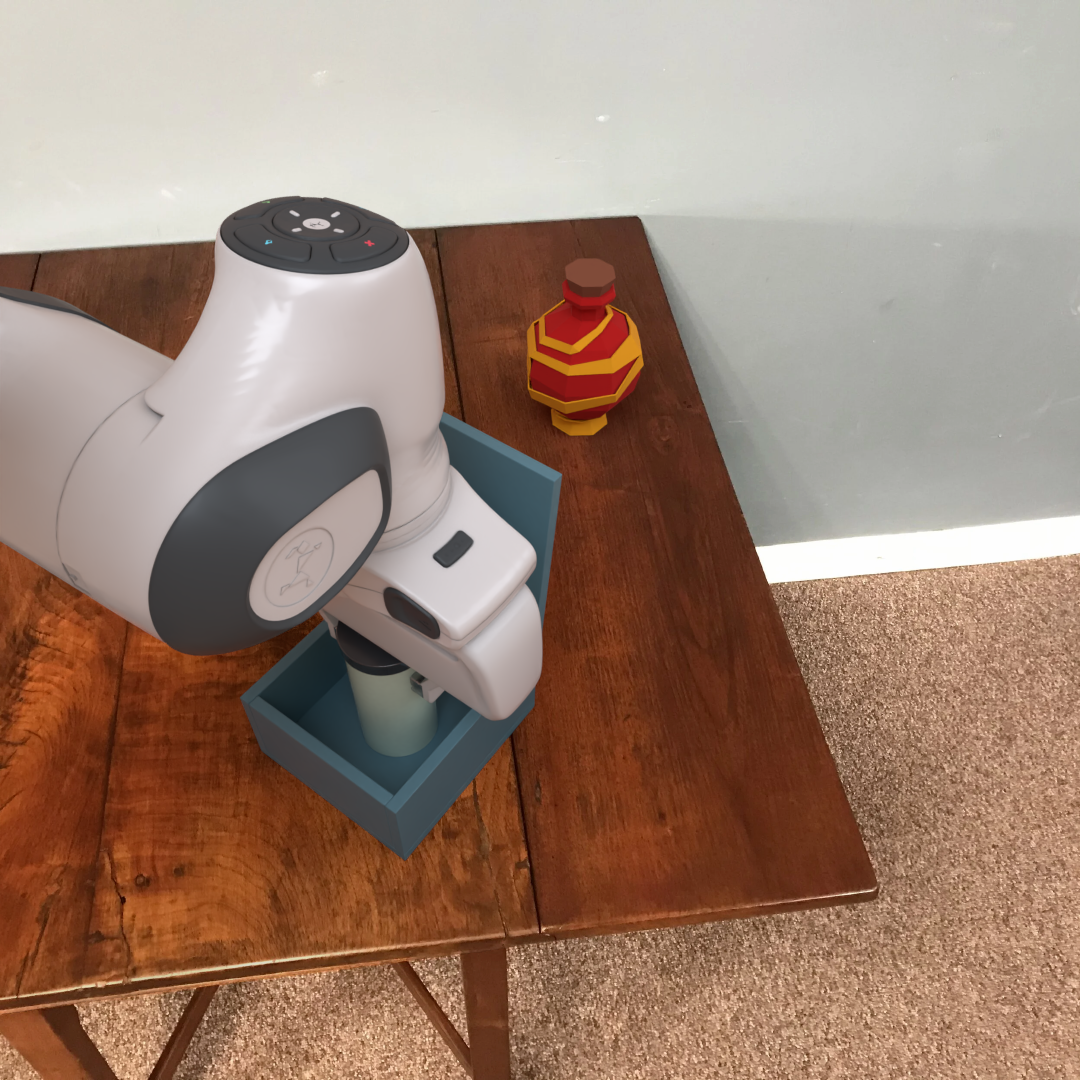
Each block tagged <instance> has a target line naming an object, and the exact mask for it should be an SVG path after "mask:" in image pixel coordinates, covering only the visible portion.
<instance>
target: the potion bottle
mask: <svg viewBox="0 0 1080 1080" xmlns="http://www.w3.org/2000/svg"><path fill="white" fill-rule="evenodd" d="M564 271H565V278H566V279H565V280H564V281H563V282H562V283H561V287H562V295H563V300H561V301H560V302H559V303H557V304H555V306H553V307H551V308H550V309H549V310H548V311H546V312H545V313H543V314H542V315H541V316H540V317H539V318H538V319H536V320H534V321H533V322H532V323H531V324H530V326H529V327H528V329H527V331H526V341H527V343H526V344H527V352H526V353H527V354H526V369H527V371H526V372H527V390H528V393H529V396H530V398H531V399H532V400H535V401H537V402H539V403H541V404H543V405H544V406H548V407H549V408H550V413H551V423H552V424H551V425H552V426H553V427H555V428H557V429H558V430H560V431H561V432H563V433H565V434H566V435H568V436H569V437H570V436H571V437H573V436H574V437H575V436H594V435H595V434H596V433H598V432H599V431H600V430H602V429H603V428H604V427H606V425H608V418H607V413H608V412H609V411H611V410H613V408H614V407H616V406H617V405H618V404H620V403H621V402H622V401H623V400H624V399H626V398H627V397H628V396H629V395H630V394H631V393H633V392H634V391H635V389H636V387H637V384H638V381H639V379H640V376H641V373H642V372H641V370H642V368H643V367H644V365H645V363H644V358H643V351H642V345H641V339H640V336H639V331H638V326H637V325H636V323H635V322H634V321H633V320H632V318H631V317H630V316H629V314H628V313H627V312H625V311H623V310H620V309H619V308H617V307H615V306H613V305H611V303H612V302H613V301H615V299H616V297H617V294H616V290H615V284H614V282H615V281H616V278H617V277H616V271H615V267H614V265H612V264H610V263H608V262H607V261H604V260H602V259H600V258H597V257H596V258H593V257H591V258H576V259H575V260H573V261H572V262H570V263H568V264H567V265H565V266H564Z"/></svg>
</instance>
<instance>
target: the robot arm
mask: <svg viewBox="0 0 1080 1080" xmlns="http://www.w3.org/2000/svg"><path fill="white" fill-rule="evenodd" d="M214 242H215V244H214V277H213V281H212V286H211V289H210V292H209V296H208V298H207V300H206V303H205V305H204V307H203V310H202V312H201V315H200V317H199V320H198V322H197V323H196V325H195V328H194V329H193V331H192V333H191V334H190V336H189V338H188V340H187V342H186V343H185V345H184V346H183V348H182V349H181V351H180V353H179V354H178V356H177V357H176V358H175V359H173V358H171V357H169V356H167V355H165V354H163V353H161V352H158V351H157V350H155V349H152V348H150V347H149V346H147V345H144V344H142V343H140V342H138V341H136V340H134V339H132V338H130V337H128V336H125V335H124V334H122V333H120V332H119V331H118V330H116V329H115V328H113V327H111V326H109V325H108V324H106V323H105V322H103V321H101V320H100V319H98V318H96V317H94V316H93V315H91V314H89V313H88V312H86V311H84V310H83V309H80V308H78V307H77V306H76V305H73V304H71V303H69V302H67V301H65V300H63V299H60V298H57V297H55V296H52V295H48V294H45V293H40V292H36V291H31V290H27V289H22V288H17V287H16V288H15V287H8V286H2V285H0V542H1V543H2V544H3V545H5V546H7V547H9V548H10V549H11V550H13V551H15V552H17V553H18V554H20V555H21V556H23V557H25V558H26V559H28V560H29V561H30V562H32V563H34V564H36V565H38V566H39V567H41V568H42V569H44V570H46V571H47V572H49V573H50V574H52V575H54V576H55V577H57V578H58V579H60V580H62V581H63V582H64V583H66V584H68V585H70V586H71V587H72V588H74V589H76V590H77V591H78V592H80V593H82V594H84V595H85V596H87V597H89V598H90V599H92V600H93V601H95V602H96V603H98V604H99V605H101V606H103V607H104V608H106V609H107V610H109V611H111V612H113V613H114V614H116V615H117V616H119V617H120V618H122V619H124V620H126V622H129V623H131V624H132V625H133V626H135V627H137V628H138V629H139V630H142V631H143V632H145V633H147V634H148V635H150V636H152V637H154V638H155V639H157V640H159V641H160V642H162V643H163V644H165V645H167V646H168V647H169V648H171V649H173V650H174V651H176V652H179V653H181V654H185V655H187V656H193V657H207V656H209V657H210V656H218V655H224V654H229V653H234V652H239V651H242V650H246V649H249V648H252V647H254V646H256V645H259V644H262V643H265V642H267V641H270V640H271V639H274V638H276V637H278V636H279V635H282V634H284V633H286V632H288V631H289V630H291V629H293V628H295V627H297V626H298V625H301V624H302V623H305V622H306V621H307V620H309V619H310V618H312V617H313V616H314V615H316V614H317V613H319V615H320V616H321V617H322V618H323V620H325V621H326V622H327V623H328V627H329V630H330V634H331V636H332V637H333V638H335V639H336V640H337V637H336V628H337V623H338V620H340V621H341V622H343V623H344V624H346V625H347V626H349V627H350V628H352V629H353V630H355V631H356V632H358V633H359V634H361V635H362V636H364V637H365V638H367V639H368V640H370V641H371V642H373V643H374V644H376V645H377V646H379V647H380V648H382V649H383V650H385V651H386V652H388V653H389V654H391V655H392V656H394V657H395V658H397V659H398V660H400V661H401V662H403V663H404V664H406V665H407V666H409V667H410V668H412V669H414V670H415V671H416V672H414V673H413V674H412V675H411V677H410V684H411V685H412V687H411V690H412V691H414V692H415V693H417V694H418V695H419V696H421V697H422V698H424V699H425V700H426V701H428V702H429V703H433V702H434V701H435V700H436V699H437V698H438V697H439V696H440V695H441V694H442V693H443V691H444V690H445V691H447V692H448V693H450V694H451V695H453V696H454V697H456V698H457V699H459V700H460V701H462V702H463V703H465V704H466V705H468V706H469V707H471V708H472V709H474V710H475V711H477V712H478V713H479V714H481V715H482V716H484V717H485V718H487V719H489V720H492V721H497V720H503V719H506V718H507V717H509V716H510V715H511V714H512V713H513V712H514V711H515V710H516V709H517V708H518V707H519V706H520V704H521V703H522V702H523V701H524V700H525V699H526V697H527V696H528V695H529V694H530V692H531V691H532V690H533V688H534V687H535V688H536V685H537V684H538V682H539V680H540V677H541V675H542V670H543V629H542V628H541V618H540V612H539V608H538V605H537V602H536V600H535V598H534V596H533V594H532V592H531V591H530V589H529V588H528V586H527V585H526V584H525V583H526V581H527V580H528V578H529V577H530V575H531V574H532V573H533V571H534V570H535V567H536V561H537V558H536V552H535V550H534V548H533V546H532V545H531V544H530V543H529V542H528V540H526V539H525V538H524V537H523V536H522V535H521V534H520V533H519V532H517V531H516V530H515V529H514V528H513V527H511V526H510V525H509V524H508V523H507V522H506V521H505V520H503V519H502V518H501V517H500V516H499V515H498V514H497V513H496V512H495V511H493V510H492V509H491V508H490V507H489V506H488V505H487V504H486V503H485V502H484V501H483V500H482V499H481V498H480V497H479V496H478V494H477V493H476V492H475V491H474V490H473V489H472V488H471V486H470V485H469V484H468V483H467V482H466V480H465V479H464V478H463V477H462V475H461V474H460V473H459V472H458V471H457V470H456V469H455V468H454V467H453V466H451V465H450V461H449V454H448V449H447V445H446V442H445V440H444V437H443V435H442V433H441V431H440V429H439V423H440V420H441V417H442V414H443V412H444V408H445V403H446V386H445V384H446V383H445V368H444V358H443V346H442V345H443V344H442V336H441V328H440V322H439V317H438V310H437V305H436V300H435V295H434V291H433V287H432V282H431V279H430V274H429V272H428V269H427V266H426V263H425V260H424V258H423V256H422V254H421V251H420V249H419V248H418V245H417V243H416V242H415V240H414V239H413V237H412V236H411V234H410V233H409V232H408V231H407V230H406V228H404V227H402V226H400V225H399V224H397V223H396V222H395V221H394V220H392V219H390V218H388V217H386V216H383V215H382V214H380V213H376V212H374V211H372V210H369V209H367V208H365V207H361V206H358V205H356V204H353V203H349V202H346V201H342V200H340V199H335V198H330V197H326V196H324V197H319V196H318V197H315V196H300V195H289V196H288V195H287V196H279V197H273V198H267V199H264V200H260V201H256V202H254V203H252V204H249V205H247V206H244V207H242V208H239V209H238V210H236V211H234V212H231V214H229V215H228V216H226V218H224V219H223V220H222V222H221V223H220V224H219V226H218V229H217V230H216V235H215V241H214Z"/></svg>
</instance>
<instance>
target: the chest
mask: <svg viewBox="0 0 1080 1080" xmlns="http://www.w3.org/2000/svg"><path fill="white" fill-rule="evenodd" d="M239 699H240V703H241V704H242V707H243V709H244V711H245V714H246V716H247V719H248V722H249V724H250V726H251V729H252V730H253V734H254V736H255V739H256V741H257V743H258V746H259V748H260V751H261V752H262V753H263V754H265V755H266V756H267V757H268V758H270V759H271V760H273V761H274V762H275V763H277V765H279V766H281V767H282V769H284V770H285V771H287V772H288V773H290V774H291V775H292V776H294V777H295V778H296V779H297V780H298V781H300V782H301V783H303V784H304V785H305V786H307V787H308V788H309V789H311V790H312V791H313V792H314V793H316V794H317V795H318V796H320V797H321V798H322V799H324V800H325V801H326V802H327V803H329V804H330V805H331V806H333V807H334V808H335V809H337V811H339V812H341V813H342V814H343V815H345V816H346V817H347V818H349V820H351V821H353V823H355V824H356V825H358V826H359V827H360V828H362V829H363V830H364V831H365V832H366V833H368V834H369V835H371V836H372V837H373V838H375V839H376V840H377V841H378V842H379V843H381V844H382V845H383V846H385V847H386V848H387V849H389V850H390V851H392V852H393V854H395V855H397V856H399V858H400V859H402V860H403V861H407V860H408V859H409V857H410V856H411V855H412V854H413V853H414V851H415V850H416V849H417V848H418V846H419V845H420V844H421V843H422V842H423V840H424V839H425V838H426V837H427V836H428V834H429V833H430V832H431V831H432V830H433V829H434V827H435V826H436V825H437V824H438V822H439V821H440V820H441V819H442V817H443V816H444V815H445V814H446V813H447V812H448V810H449V809H450V808H451V807H452V806H453V804H454V803H455V802H456V801H457V800H458V798H459V797H460V796H461V795H462V794H463V792H464V791H465V790H466V789H467V788H468V786H469V785H470V784H471V783H472V782H473V781H474V779H475V778H476V777H477V776H478V775H479V773H480V772H481V771H482V770H483V769H484V767H485V766H486V765H487V764H488V762H489V761H490V760H491V759H492V758H493V757H494V755H495V754H496V753H497V752H498V751H499V750H500V748H501V747H502V746H503V745H504V744H505V742H506V741H507V740H508V739H509V738H510V736H511V735H512V734H513V733H514V731H515V730H516V729H517V728H518V726H519V725H520V724H521V723H522V722H523V721H524V719H525V718H526V717H527V716H528V715H529V714H530V712H531V711H532V710H533V709H534V707H535V705H536V704H535V703H536V701H535V700H536V686H535V687H534V688H533V690H532V691H531V692H530V694H529V695H528V696H527V697H526V699H525V700H524V701H523V702H522V703H521V704H520V706H519V707H518V708H517V709H516V710H515V711H514V712H513V713H512V714H511V715H510V716H509V717H507V718H506V719H503V720H497V721H492V720H489V719H487V718H485V717H484V716H482V715H481V714H479V713H478V712H477V711H475V710H474V709H472V708H471V707H469V706H468V705H466V704H465V703H463V702H462V701H460V700H459V699H457V698H456V697H454V696H453V695H451V694H450V693H448V692H447V691H445V690H444V691H443V693H442V694H441V695H440V696H439V697H438V698H437V707H438V716H439V723H438V728H437V731H436V733H435V736H434V737H433V739H432V740H431V741H430V742H429V744H427V745H426V746H425V747H424V748H423V749H421V750H420V751H418V752H416V753H414V754H411V755H407V756H402V757H391V756H386V755H383V754H380V753H378V752H376V751H375V750H373V749H372V748H371V747H370V746H369V745H368V744H367V743H366V741H365V740H364V738H363V735H362V731H361V727H360V723H359V719H358V715H357V710H356V706H355V702H354V698H353V693H352V689H351V685H350V681H349V676H348V672H347V668H346V664H345V659H344V658H343V656H342V655H341V652H340V650H339V645H338V641H337V640H336V639H335V638H333V637H332V636H331V634H330V630H329V627H328V623H327V622H326V621H325V620H324V619H323V620H322V621H320V623H318V624H317V626H315V627H314V628H313V629H312V630H311V631H310V632H309V633H308V634H307V635H305V636H304V637H303V638H302V639H301V640H300V641H299V642H298V643H297V644H296V645H294V647H292V649H291V650H289V651H288V652H287V653H286V654H285V655H284V656H283V657H282V658H280V659H279V661H277V662H276V663H275V664H274V665H273V666H272V667H271V668H270V669H269V670H268V671H267V672H265V673H264V674H263V675H262V676H261V677H260V678H259V679H258V680H257V681H256V682H254V683H253V684H252V685H251V686H250V687H249V688H248V689H247V690H246V691H245V692H244V693H243V694H241V695H240V697H239Z"/></svg>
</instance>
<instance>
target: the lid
mask: <svg viewBox="0 0 1080 1080" xmlns="http://www.w3.org/2000/svg"><path fill="white" fill-rule="evenodd" d="M439 429H440V431H441V433H442V435H443V437H444V440H445V442H446V445H447V449H448V454H449V461H450V465H451V466H453V467H454V468H455V469H456V470H457V471H458V472H459V473H460V474H461V475H462V477H463V478H464V479H465V480H466V482H467V483H468V484H469V485H470V486H471V488H472V489H473V490H474V491H475V492H476V493H477V494H478V496H479V497H480V498H481V499H482V500H483V501H484V502H485V503H486V504H487V505H488V506H489V507H490V508H491V509H492V510H493V511H495V512H496V513H497V514H498V515H499V516H500V517H501V518H502V519H503V520H505V521H506V522H507V523H508V524H509V525H510V526H511V527H513V528H514V529H515V530H516V531H517V532H519V533H520V534H521V535H522V536H523V537H524V538H525V539H526V540H528V542H529V543H530V544H531V545H532V546H533V548H534V550H535V552H536V558H537V561H536V567H535V570H534V571H533V573H532V574H531V575H530V577H529V578H528V580H527V581H526V583H525V584H526V585H527V586H528V588H529V589H530V591H531V592H532V594H533V596H534V598H535V600H536V602H537V605H538V608H539V612H540V618H541V628H542V630H543V629H544V620H545V612H546V605H547V597H548V589H549V581H550V573H551V567H552V566H551V565H552V558H553V552H554V551H553V550H554V543H555V542H554V541H555V534H556V526H557V519H558V512H559V511H558V510H559V505H560V495H561V488H562V487H561V486H562V479H563V474H562V473H561V472H559V471H557V470H556V469H554V468H552V467H549V466H548V465H546V464H544V463H542V462H540V461H539V460H536V459H534V458H533V457H531V456H529V455H527V454H525V453H523V452H521V451H519V450H518V449H516V448H513V447H511V446H510V445H508V444H506V443H504V442H502V441H501V440H498V439H497V438H495V437H493V436H491V435H489V434H487V433H485V432H483V431H481V430H479V429H477V428H475V427H474V426H472V425H471V424H468V423H466V422H464V421H463V420H461V419H459V418H457V417H455V416H453V415H451V414H449V413H447V412H445V411H443V414H442V417H441V420H440V423H439Z"/></svg>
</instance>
